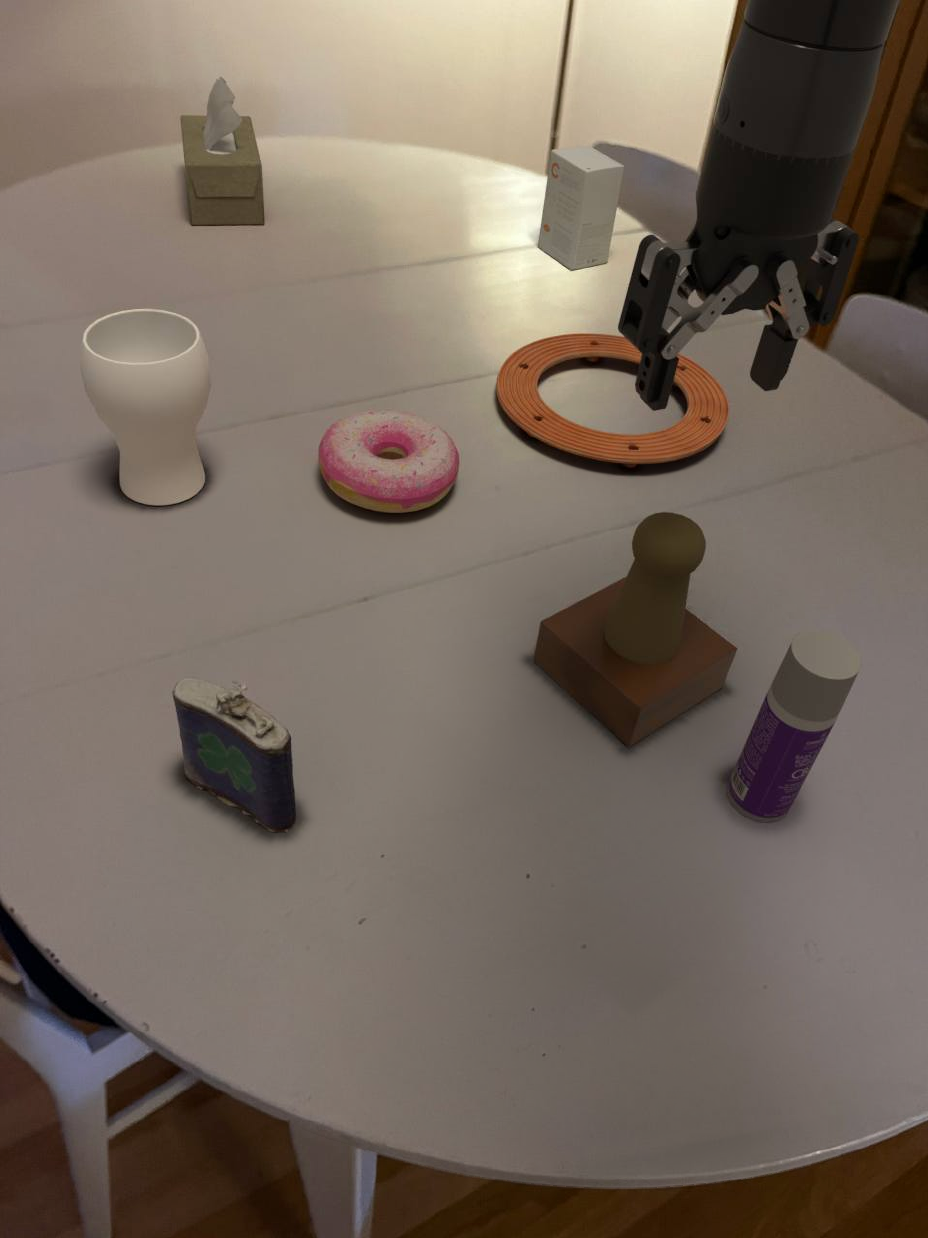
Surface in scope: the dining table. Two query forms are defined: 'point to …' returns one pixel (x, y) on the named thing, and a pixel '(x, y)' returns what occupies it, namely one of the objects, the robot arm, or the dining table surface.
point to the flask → (236, 751)
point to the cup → (150, 399)
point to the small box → (580, 206)
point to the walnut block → (629, 668)
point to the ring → (629, 449)
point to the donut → (388, 461)
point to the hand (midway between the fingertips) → (708, 393)
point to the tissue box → (222, 164)
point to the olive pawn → (655, 589)
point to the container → (793, 724)
